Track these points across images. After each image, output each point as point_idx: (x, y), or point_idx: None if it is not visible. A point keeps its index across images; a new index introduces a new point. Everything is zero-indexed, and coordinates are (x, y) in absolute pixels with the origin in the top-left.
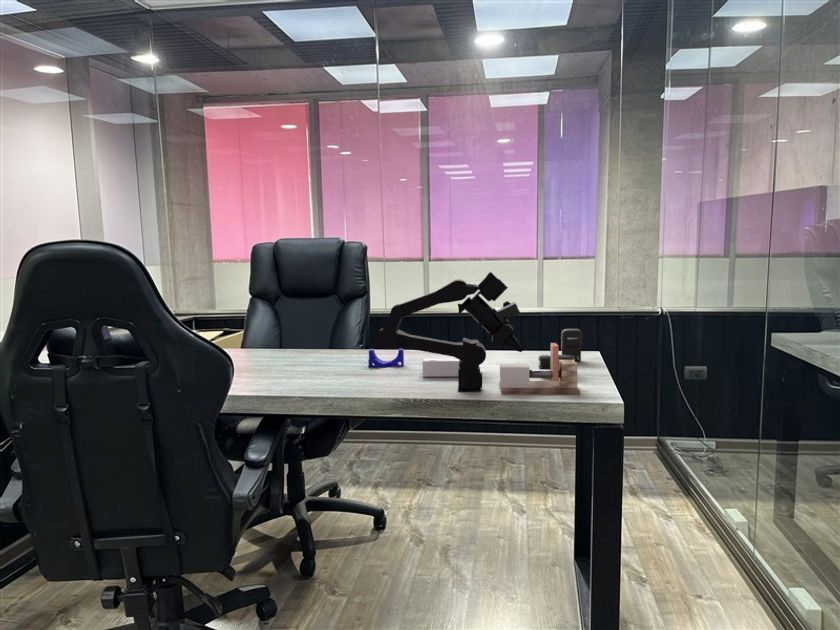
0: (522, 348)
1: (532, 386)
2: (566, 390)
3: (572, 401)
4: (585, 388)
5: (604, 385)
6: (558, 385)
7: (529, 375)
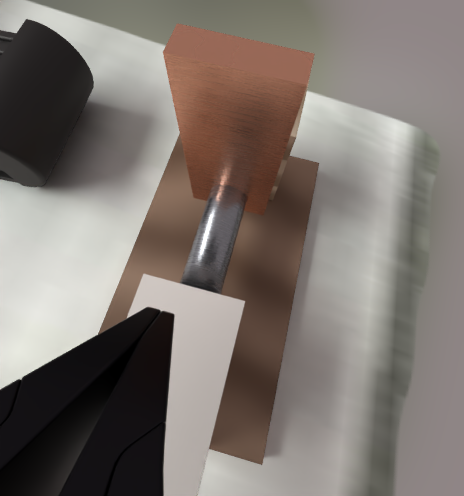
0: (173, 321)
1: None
2: (303, 198)
3: (390, 223)
4: None
5: None
6: None
7: None
